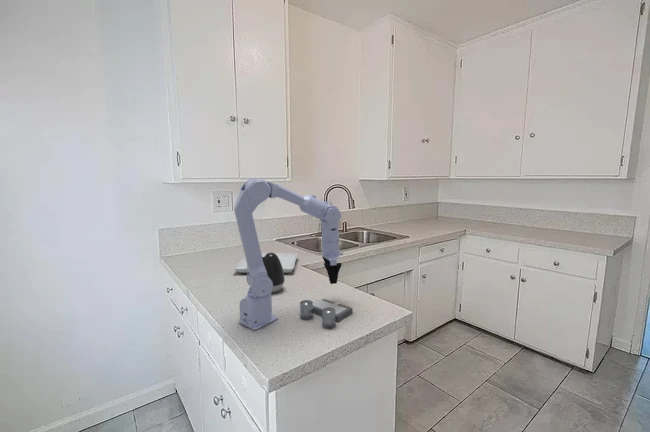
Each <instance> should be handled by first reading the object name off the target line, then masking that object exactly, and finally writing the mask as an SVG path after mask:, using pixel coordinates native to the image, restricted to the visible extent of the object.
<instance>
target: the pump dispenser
mask: <svg viewBox="0 0 650 432" xmlns="http://www.w3.org/2000/svg"><path fill="white" fill-rule="evenodd" d="M267 253H268V254H266V255H265V256H264V257H262V259H263V263H264V266H265V269H266V271H267V275H268V277H269V278H270V279H271V281H272V283H273V288H272V291H271V294H272V293H273V294H274V293H277V292H278V291H280V290H281V289H283V286H284V282H285V279H286V278H285V273H284V272H283V267H282V264H281V262H280V260H279V258H278V256H277V255H276V254H275V253H276V252H275V253H274V252H267Z"/></svg>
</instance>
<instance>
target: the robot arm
mask: <svg viewBox="0 0 650 432" xmlns="http://www.w3.org/2000/svg"><path fill="white" fill-rule="evenodd" d="M268 198H269V199H275V198H279V199H282V200H284V201H287V202H289V203H292V204H294V205H297V206H299V209H300V212H302V213H305V214H307V215H309V216H311V217H314V218H317V219H318V220H320V225H321V228H320V229H321V244H322V245H321V247H322V251H321V252H322V253H321V257H322V259H323V261H324V262H323V266H324V268H325V270H326V273H327V276H328V281H329V283H330V284H331V285H334V284H335V285H336V284H337V283H338V278H339V273H340V269H341V267H342V262H337V261H338V259H339V257H340V256H343V255H344V252H343V251H340V236H339V235H340V234H339V222H340V221H341V218H342V213H341V211H340V209H339V208H338V207H337V206H335V205H332V204H329V201H326V200H324V201H323V200H321V199H319V198H317V196H316V195H315V194H311V195H310V194H306V195H304V196H303V195H300V194H298V193H296V192H294V191H292V190H291V189H288V188H287V187H285V186H283V185H280V184H278V183H274V182H271V181H266V180H265V179H261V178H260V179H259V178H249V179H247V180H246V181H245V182H244V183H243V185H241V187H240V190H239V194H238V196H237V199H236V201H235V204H234V209H233V211H234V215H235V219H236V224H237V229H238V232H239V236H240V242H241V245H242V249H243V252H244V257H245V258H246V262H247V271H248V273H246V283H247V284H248V286H249V288H248V291H247V295H246V296H245V297H243V298H242V299H241V300H239V321H238V323H239V324H241V325H243V326H245V327H247V328H248V329H250V330H253V331H256V330H259V329H261V328H263V327H265V326H267V325H269V324H270V323H273V322H274V321H277V320H278V319H279V317H278V316H276V315H273V307H272V306H273V305H272V302H273V301H272V300H273V299H272V293H271V291H272V288H273V283H272V281H271V279H270V278H269V277H268V275H267V271H266V269H265V266H264V263H263V259H262V255H261V253H262V252H261V251H262V250H261V246H260V242H259V238H258V233H257V230H256V229H257V228H256V226H255V220H254V217H253V213H254V212H255V210H256V209H257V207H258V206H259V205H260V204H262V203H263V202H265V201H266V200H267V199H268Z"/></svg>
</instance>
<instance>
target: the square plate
mask: <svg viewBox="0 0 650 432" xmlns="http://www.w3.org/2000/svg"><path fill="white" fill-rule="evenodd" d="M268 253H269V252H264V253H262V252H261V255H262V257H264V256H265V255H266V254H268ZM275 254H276V255H277V256H278V258H279V260H280V262H281V264H282V267H283V272H284V274H286V273H288V274H289V273H291V272H292V271H293V270H294V269H295V267H296V261H297V259H298V256H299V254H298V253H280V252H279V253H277V252H275ZM233 270H234V271H236V272H237V273H242V274H244V273H245V274H248V271H247V262H246V258H245V256H244V257H243V258H241V260H240V261H239V262H237V264H236V265H235V266H234V267H233Z"/></svg>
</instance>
